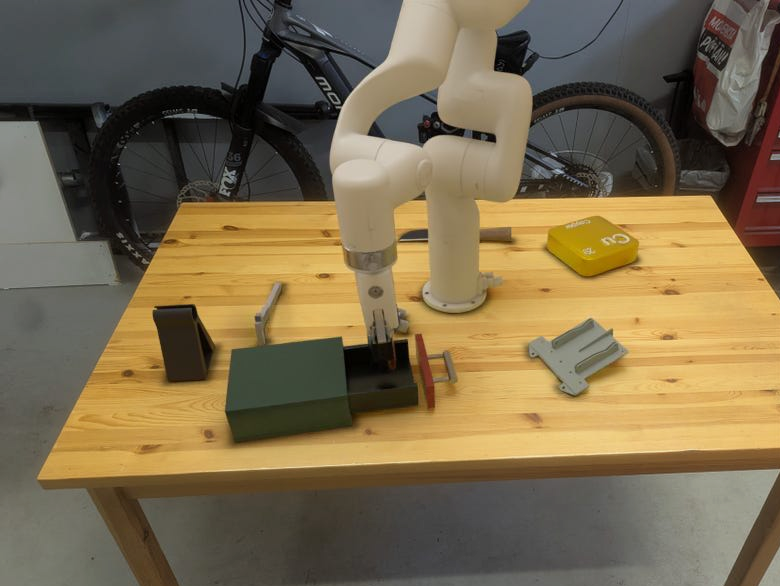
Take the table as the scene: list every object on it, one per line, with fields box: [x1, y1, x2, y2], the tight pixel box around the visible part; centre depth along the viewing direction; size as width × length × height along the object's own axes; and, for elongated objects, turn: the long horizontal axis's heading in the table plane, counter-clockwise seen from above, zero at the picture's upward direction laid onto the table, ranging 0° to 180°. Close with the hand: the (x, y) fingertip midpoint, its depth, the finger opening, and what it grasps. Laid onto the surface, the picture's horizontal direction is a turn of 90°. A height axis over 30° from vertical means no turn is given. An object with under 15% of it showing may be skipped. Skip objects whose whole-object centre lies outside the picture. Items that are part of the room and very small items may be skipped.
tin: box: [365, 327, 396, 374], centre depth 105 cm, size 4×4×8 cm
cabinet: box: [224, 335, 353, 443], centre depth 105 cm, size 18×15×7 cm
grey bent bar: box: [254, 282, 283, 346], centre depth 123 cm, size 20×1×6 cm, turn 5°
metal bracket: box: [528, 317, 629, 396], centre depth 115 cm, size 14×6×15 cm
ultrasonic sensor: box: [393, 303, 410, 335], centre depth 122 cm, size 6×2×3 cm, turn 12°
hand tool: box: [398, 226, 512, 242], centre depth 148 cm, size 6×3×25 cm
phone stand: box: [151, 303, 216, 383], centre depth 110 cm, size 9×6×12 cm, turn 6°
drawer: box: [343, 333, 459, 416], centre depth 108 cm, size 21×13×5 cm, turn 102°
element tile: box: [546, 215, 640, 278], centre depth 142 cm, size 15×15×5 cm
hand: (381, 348), depth 105 cm, fingers closed on tin, 4 cm apart
